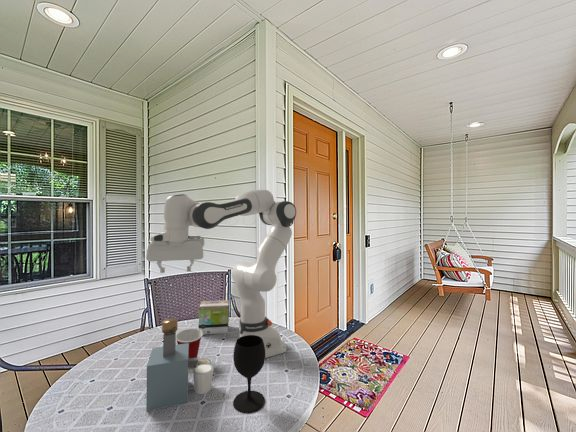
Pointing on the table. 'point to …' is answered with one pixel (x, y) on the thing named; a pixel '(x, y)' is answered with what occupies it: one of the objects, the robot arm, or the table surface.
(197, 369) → the shot glass
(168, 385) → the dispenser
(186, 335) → the plastic cup
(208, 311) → the tea box
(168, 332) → the pump plunger
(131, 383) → the table surface
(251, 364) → the wine glass
